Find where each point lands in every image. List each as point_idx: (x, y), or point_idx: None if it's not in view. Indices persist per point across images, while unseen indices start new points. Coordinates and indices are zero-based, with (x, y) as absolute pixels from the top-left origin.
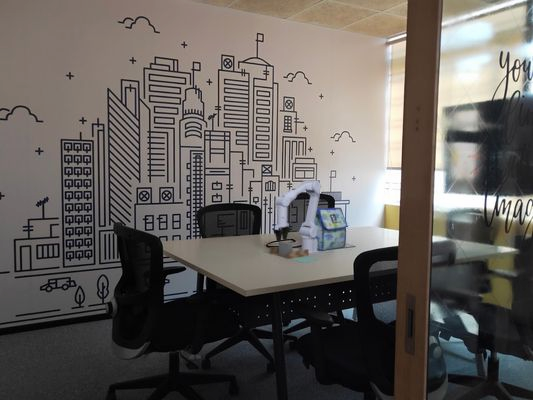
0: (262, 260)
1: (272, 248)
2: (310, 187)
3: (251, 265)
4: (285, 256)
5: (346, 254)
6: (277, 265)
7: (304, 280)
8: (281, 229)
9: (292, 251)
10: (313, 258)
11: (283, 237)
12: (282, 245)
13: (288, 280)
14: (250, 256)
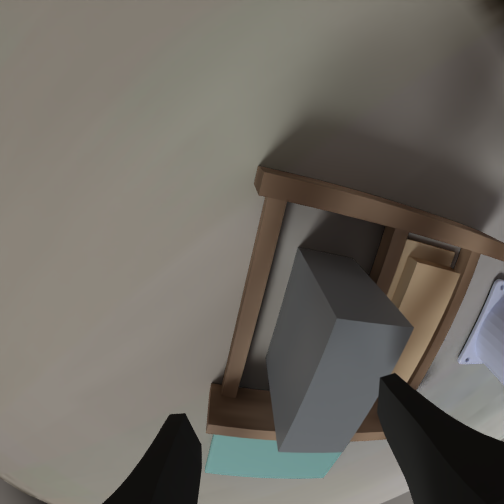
0: (37, 278)
1: (280, 198)
2: None
3: None
4: (225, 374)
5: (492, 436)
6: (51, 408)
7: (46, 499)
8: (462, 491)
9: (426, 308)
10: (328, 462)
11: (390, 407)
12: (303, 361)
13: (8, 474)
14: (57, 97)
